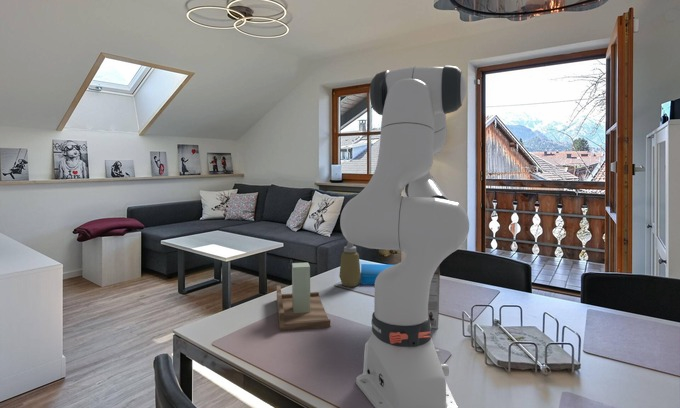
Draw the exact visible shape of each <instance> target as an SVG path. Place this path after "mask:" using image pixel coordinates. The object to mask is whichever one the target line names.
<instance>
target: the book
mask: <svg viewBox="0 0 680 408" xmlns="http://www.w3.org/2000/svg"><path fill="white" fill-rule="evenodd" d="M393 265H394V264H377V263H376V264H374V263H372V264H371V263H370V264H369V263H368V264H367V263H360V273H361V277H360V285H372V284H375V280H376V278H377V276H378V275H379V273H380V272H382V271H383V270H385V269H386V268H388V267H391V266H393Z"/></svg>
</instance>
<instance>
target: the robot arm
mask: <svg viewBox="0 0 680 408" xmlns="http://www.w3.org/2000/svg"><path fill="white" fill-rule="evenodd" d="M466 83H467V82H466V79H465V77H464V75H463V72H462V70H461V69H460V68H459V67H458V66H453V65H444V66H419V67H418V66H409V67H403V68H398V69H394V70H388V69H387V70H384V71H381V72H378V73H376V74H375V76H374V77H373V78H372V79H371V81H370V86H369V100H370V103H371V107H372V110H373V111H374V112H376V114H378V115H379V116H381V124H380V138H379V139H380V140H379V148H378V155H377V162H376V167H375V170H374V172H373V174H372V176H371V178H370V180H369V181H368V182H367V184H366V186H365V187H364V188H363V189H362V190H361V191H360V192H359V193H358V194H357V195H355V196H354V197H353V198H351V199H350V200H349V201H347V203H345V205H344V207H343V209H342V211H341V213H340V219H339V221H340V222H339V223H340V224H339V225H340V230H341V233H342V235H343V237H344V238H345V239H346V241H347V243H348V242H349V243H351V244H353V245H354V246H359V247H362V248H367V249H373V250H375V249H376V250H387V251H388V250H389V251H400V252H404V253H405V258H404V259H403V260H402V261H400V262H398V263H396V264H392V265H393V266H391V267H388V268H386V269H385V270H383V271H382V272H380V273H379V275H378V276H377V278H376V280H375V285H374V300H373V302H374V306H373V307H374V309H373V310H374V311H373V312H372V315H371V331H372V333H371V336H369V339H367V341H366V343H364V353H363V355H364V356H363V371H362V373H361V374H359V375H357V377H356V379H355V383H356V385H357V387H358V388H359V389H360V390H361V392H362V393H363V395H365V397H366V398H367V399H368V401H369V402H370V403H371V405H373V407H374V408H459V406H458V405H457V402H456V400H455V398H454V395H453V394H452V392H451V389H450V387H449V385H448V383H447V381H446V377H449V375H450V369H449V366H448V364H447V363H441V361H440V359H439V358H440V356H441V354H440V349H436V347H435V345H434V342H433V336H432V328H431V323H430V318H429V316H428V300H429V291H430V284H431V280H432V277H433V275H434V273H435V271H436V269H437V267H438V266H439V267H440V264H441V263H442V262H443V261H444V260H445V259H446V258H447V257H449V256H450V255H451V254H452V253H454V252H456V251H457V250H458V249H460V248H461V247H462V246H463V245H464V243H465V242H466V240H467V238H468V236H469V231H470V221H469V215H468V213H467V212H466V209H465V208H464V206H462V205H461V203H459V202H458V201H453V200H450V199H448V197H447V196H446V194H445V193H444V191H443V190H442V189H441V187H440V186H439V185H438V184H437V182H436V180H435V178H434V177H433V175H432V174H431V169H432V167H433V163H434V162H433V161H434V155H435V154H437V153H439V152H440V151H442V150H443V148H444V147H445V145H446V141H447V132H448V131H447V130H448V129H447V128H448V127H447V115H446V114H451V113H454V112H456V111H458V110H459V109H460V108H461V107H462V106H463V102H464V101H465V97H466V94H467V84H466ZM403 190H404V192H405V196H403V195H401V194H402V192H403Z"/></svg>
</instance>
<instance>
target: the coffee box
mask: <svg viewBox="0 0 680 408" xmlns="http://www.w3.org/2000/svg"><path fill="white" fill-rule="evenodd" d="M440 281H441V272H440V265H439V266H438V267H437V269H436V271H435V273H434V275H433V277H432V280H431V284H430V291H429V300H428V316H429V318H430V323H431V329H439V312H440V311H439V309H440Z"/></svg>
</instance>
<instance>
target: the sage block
mask: <svg viewBox="0 0 680 408" xmlns="http://www.w3.org/2000/svg"><path fill="white" fill-rule="evenodd" d="M291 278H292V279H291V288H292V289H291V290H292V291H291V294H292V307H293V312H294V313H304V312H310V292H311V266H310V263H309V262H292V263H291Z"/></svg>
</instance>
